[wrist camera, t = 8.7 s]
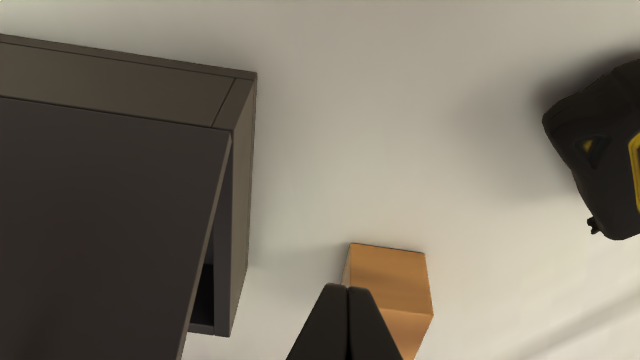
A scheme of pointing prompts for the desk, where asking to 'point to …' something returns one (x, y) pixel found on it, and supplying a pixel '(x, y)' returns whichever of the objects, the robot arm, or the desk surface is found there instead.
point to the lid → (102, 231)
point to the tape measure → (603, 148)
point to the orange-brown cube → (394, 291)
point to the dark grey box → (167, 106)
